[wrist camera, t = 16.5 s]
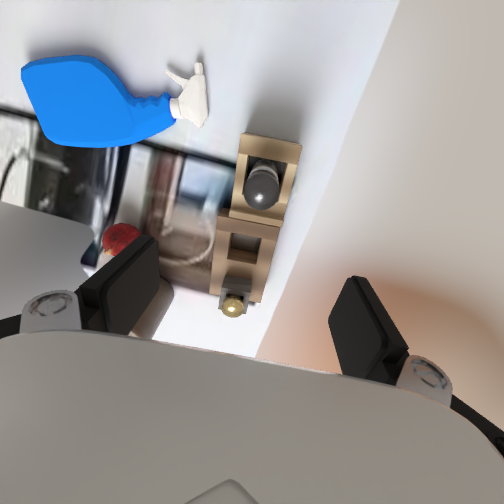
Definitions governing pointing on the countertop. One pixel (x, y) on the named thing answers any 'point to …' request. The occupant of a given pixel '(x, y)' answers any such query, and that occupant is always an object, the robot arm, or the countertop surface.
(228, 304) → the round brass peg
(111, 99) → the spray bottle
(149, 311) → the pillar candle
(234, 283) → the socket block
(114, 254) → the onion
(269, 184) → the capped metal cylinder
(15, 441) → the robot arm
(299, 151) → the frame
